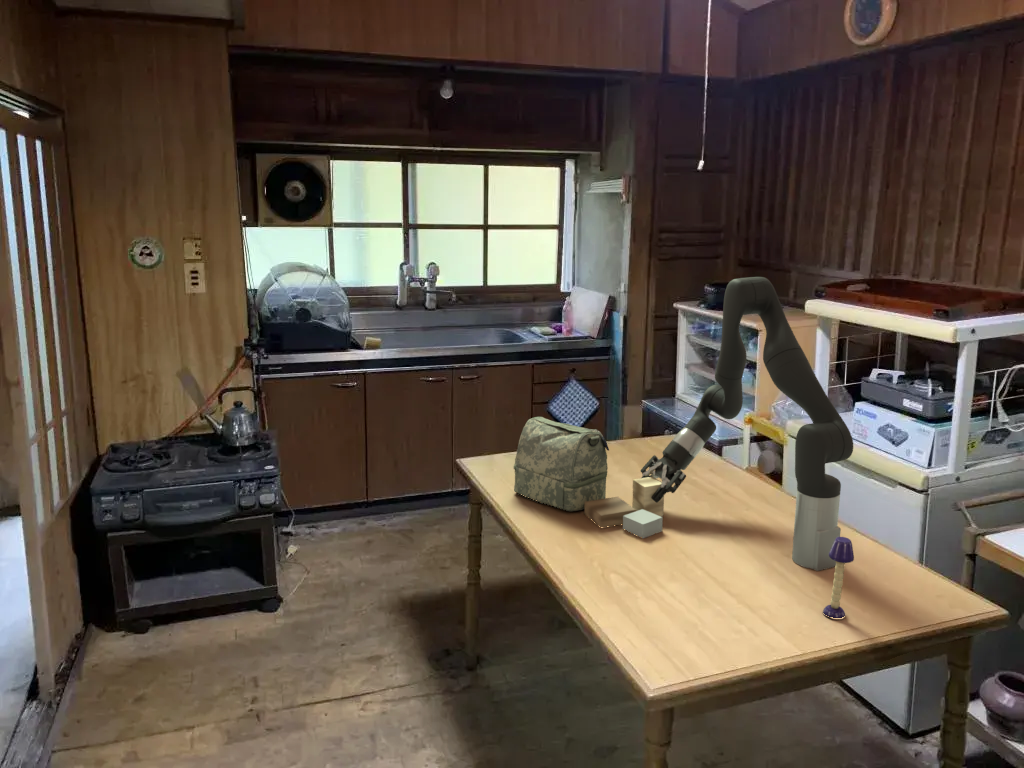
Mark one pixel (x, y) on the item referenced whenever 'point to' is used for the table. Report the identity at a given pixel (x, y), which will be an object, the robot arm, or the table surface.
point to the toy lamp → (839, 574)
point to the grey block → (642, 523)
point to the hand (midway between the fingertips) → (645, 494)
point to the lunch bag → (561, 464)
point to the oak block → (647, 495)
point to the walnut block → (608, 511)
